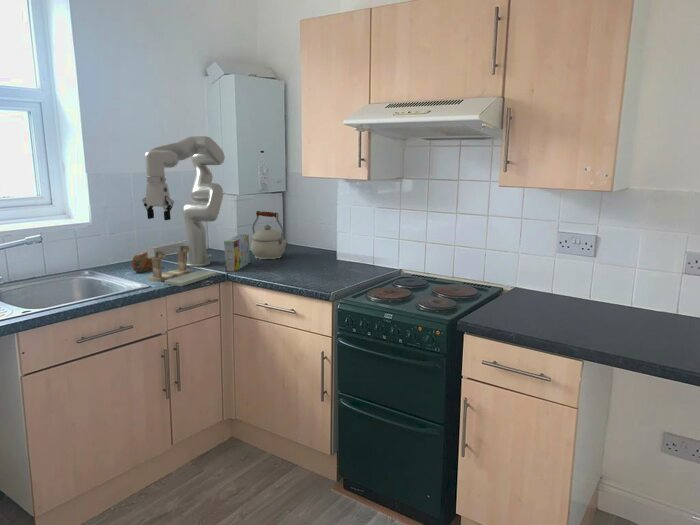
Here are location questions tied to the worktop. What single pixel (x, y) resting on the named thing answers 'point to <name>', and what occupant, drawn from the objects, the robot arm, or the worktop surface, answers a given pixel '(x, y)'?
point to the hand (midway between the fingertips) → (159, 219)
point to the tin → (142, 262)
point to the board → (190, 278)
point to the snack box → (237, 252)
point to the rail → (167, 248)
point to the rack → (161, 276)
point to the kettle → (268, 240)
